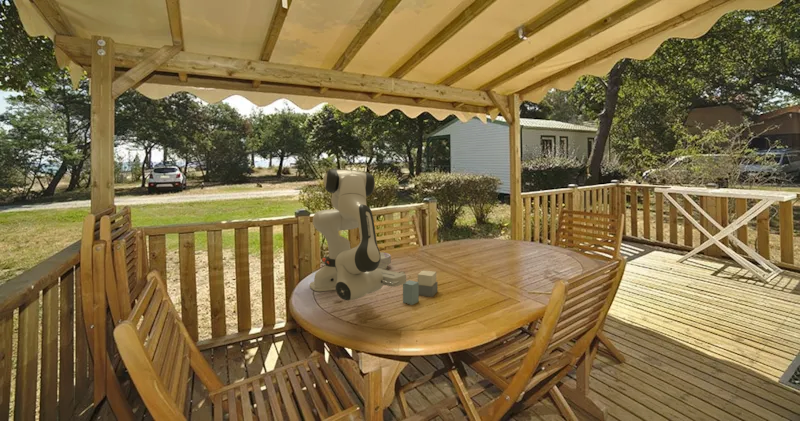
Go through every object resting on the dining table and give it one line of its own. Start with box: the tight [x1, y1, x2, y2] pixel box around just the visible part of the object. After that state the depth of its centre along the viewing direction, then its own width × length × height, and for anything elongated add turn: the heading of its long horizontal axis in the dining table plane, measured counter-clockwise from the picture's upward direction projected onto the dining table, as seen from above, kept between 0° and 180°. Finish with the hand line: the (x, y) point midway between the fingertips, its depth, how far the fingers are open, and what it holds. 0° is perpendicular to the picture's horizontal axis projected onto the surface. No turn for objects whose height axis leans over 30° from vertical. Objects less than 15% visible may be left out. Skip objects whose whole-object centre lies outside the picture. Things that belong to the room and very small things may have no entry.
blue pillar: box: [402, 279, 420, 306], centre depth 162 cm, size 5×5×9 cm
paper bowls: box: [377, 252, 392, 269], centre depth 216 cm, size 15×15×8 cm
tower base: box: [419, 281, 439, 298], centre depth 174 cm, size 8×8×5 cm
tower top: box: [417, 270, 437, 286], centre depth 173 cm, size 7×7×5 cm
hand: (394, 271), depth 151 cm, fingers open, 8 cm apart
